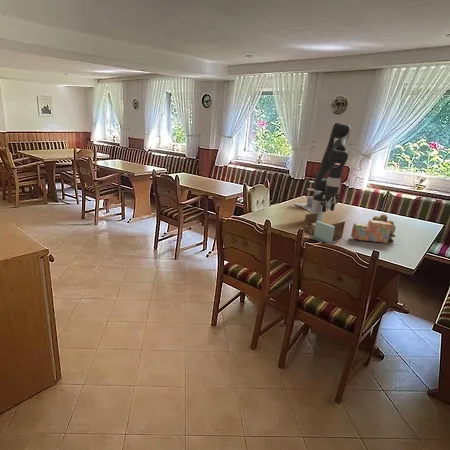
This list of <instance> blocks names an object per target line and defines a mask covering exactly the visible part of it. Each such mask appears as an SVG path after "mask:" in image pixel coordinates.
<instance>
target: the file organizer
mask: <svg viewBox="0 0 450 450" xmlns="http://www.w3.org/2000/svg"><path fill="white" fill-rule="evenodd" d="M308 182H310V183H314V180H308ZM306 190H307V191H311V192H313V195H305V198H307V199H306V202H305V203H304V202H300V203H299V202H294V203H293V204H294V205H296V206H299V207H301V208H303V209H304V210H306V211H308V212H310V209H311V208H312V202H313V197H314V195H316V194H319V193H321V192H322V191H317V190H314V189H313V188H307V189H306ZM325 204H326V203H325ZM330 207H331V202H329V204H327V209H330Z"/></svg>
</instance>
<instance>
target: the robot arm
mask: <svg viewBox="0 0 450 450" xmlns="http://www.w3.org/2000/svg"><path fill="white" fill-rule="evenodd" d="M351 129H352V127H351V125H349V124H345V123H340V122H335V123H334V124H333V126H332V128H331V133H330V135H329V138H328V139H329V140H328V142H327V146H326V149H325V150H324V154H323V156H322V159H321V162H320V163H321V164H320V166H319V169H318V171H317V174H316V176H315V178H314V180H313V181H314V182H312V184H313V185H312V187H313V188H312V189H314V190H317V191H322V192H321V193H319V194H316V195H314V194H313V196H314V197H313V202H312V208H311V209H310V211H309V213H308V214H310V213H316V212H317V213H318V215H317V220H316V221H320V222H323V218H324V213H326V212H327V211H326V207H327V204H329V202H331V207H330V208H329V211H332V212H333V211H335V208H336V207H335V206H336V205H337V204H338V202H339V198H340V194H339V189H340V184H341V178H342V174H343V173H342V172H343V169H344V168H345V165H346V163H347V161H348V159H349V153H348V152H347V151H346V150H347V144H348V141H349V137H350V134H351V131H352V130H351ZM335 139H336V140H335ZM336 163H337V164H339V165H338V166H336ZM327 173H328V175H327V178H324V176H325V175H326V174H327ZM325 203H326V204H325Z"/></svg>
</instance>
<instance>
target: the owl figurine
mask: <svg viewBox="0 0 450 450" xmlns="http://www.w3.org/2000/svg"><path fill="white" fill-rule="evenodd" d="M371 220H375V221H384V222H389V223H390V224H392V227H391V232H390V235H389V239H388V243H389V244H391V243H394V239H393V238H396V237H397V236H396V234H394V233H395V232H396V228H397V227H396V225H395V223H394V221H392V220H388V215H387V214H380V215H379V216H377V215H376V216H373V217H372V219H371ZM388 243H387V244H388Z"/></svg>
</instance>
